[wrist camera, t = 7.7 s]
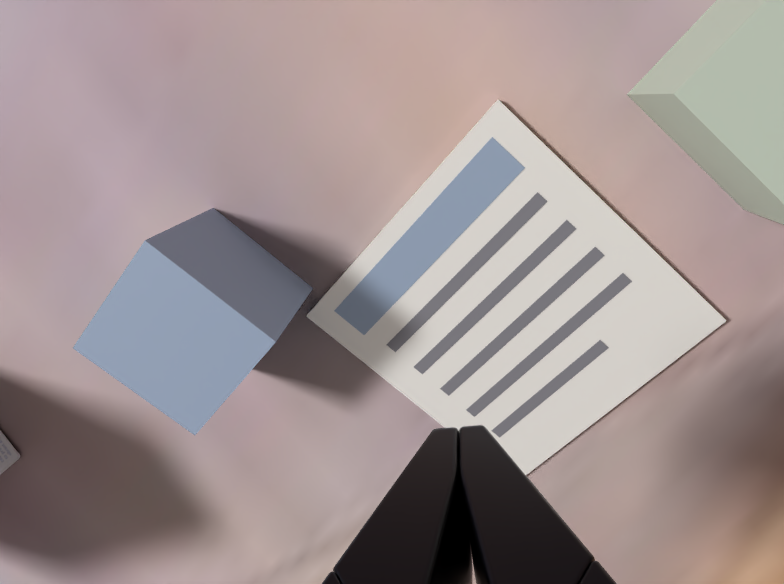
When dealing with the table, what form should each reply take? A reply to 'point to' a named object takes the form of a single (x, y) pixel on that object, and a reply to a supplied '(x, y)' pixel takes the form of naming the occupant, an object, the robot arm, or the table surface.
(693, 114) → the sage block
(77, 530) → the table surface
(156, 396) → the slate-blue cube
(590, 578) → the robot arm
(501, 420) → the letter
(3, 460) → the light bulb box
